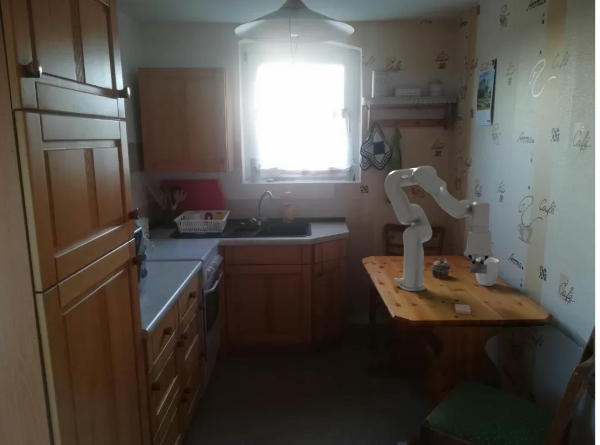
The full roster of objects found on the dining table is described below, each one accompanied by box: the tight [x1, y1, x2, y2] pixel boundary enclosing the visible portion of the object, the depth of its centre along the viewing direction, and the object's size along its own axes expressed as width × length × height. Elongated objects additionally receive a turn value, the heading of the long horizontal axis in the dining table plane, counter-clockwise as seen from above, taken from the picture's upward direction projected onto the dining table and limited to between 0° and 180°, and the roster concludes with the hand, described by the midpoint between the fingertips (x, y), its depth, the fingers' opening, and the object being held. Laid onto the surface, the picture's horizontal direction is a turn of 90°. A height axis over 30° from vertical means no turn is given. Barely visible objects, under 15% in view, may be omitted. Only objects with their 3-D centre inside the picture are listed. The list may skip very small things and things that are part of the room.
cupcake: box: [431, 257, 451, 279], centre depth 255 cm, size 10×10×10 cm
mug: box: [475, 256, 500, 287], centre depth 239 cm, size 15×11×13 cm
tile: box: [454, 303, 472, 315], centre depth 206 cm, size 6×2×8 cm
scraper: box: [469, 260, 487, 274], centre depth 213 cm, size 7×12×4 cm, turn 163°
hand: (477, 269), depth 213 cm, fingers closed on scraper, 2 cm apart
